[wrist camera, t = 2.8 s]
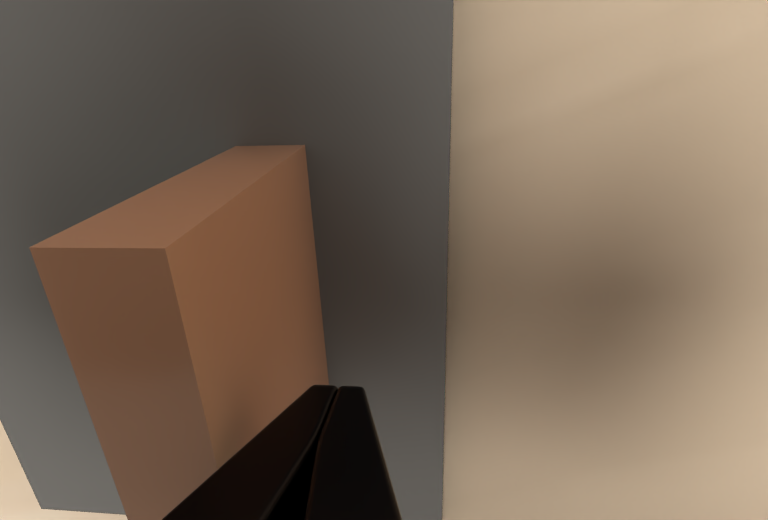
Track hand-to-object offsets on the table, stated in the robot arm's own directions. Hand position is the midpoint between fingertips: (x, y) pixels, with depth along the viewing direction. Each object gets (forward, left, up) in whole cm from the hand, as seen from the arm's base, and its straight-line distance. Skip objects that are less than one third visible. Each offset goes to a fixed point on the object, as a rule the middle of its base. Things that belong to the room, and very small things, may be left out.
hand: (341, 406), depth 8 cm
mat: (-1, +5, -5) cm, 7 cm away
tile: (0, +2, -4) cm, 5 cm away
